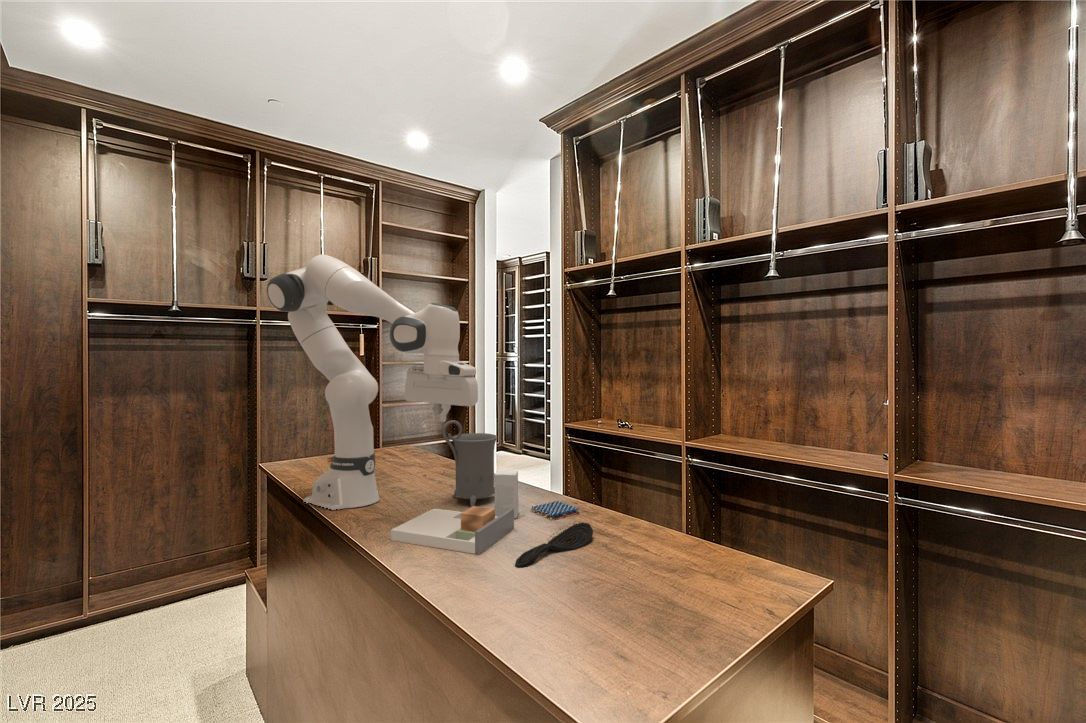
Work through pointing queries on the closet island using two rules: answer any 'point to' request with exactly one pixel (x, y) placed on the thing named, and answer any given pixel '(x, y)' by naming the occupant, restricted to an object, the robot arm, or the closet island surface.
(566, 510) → the woven mat
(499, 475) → the skincare box
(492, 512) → the block
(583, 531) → the hairbrush
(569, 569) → the closet island surface
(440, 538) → the trap deck
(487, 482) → the mug
